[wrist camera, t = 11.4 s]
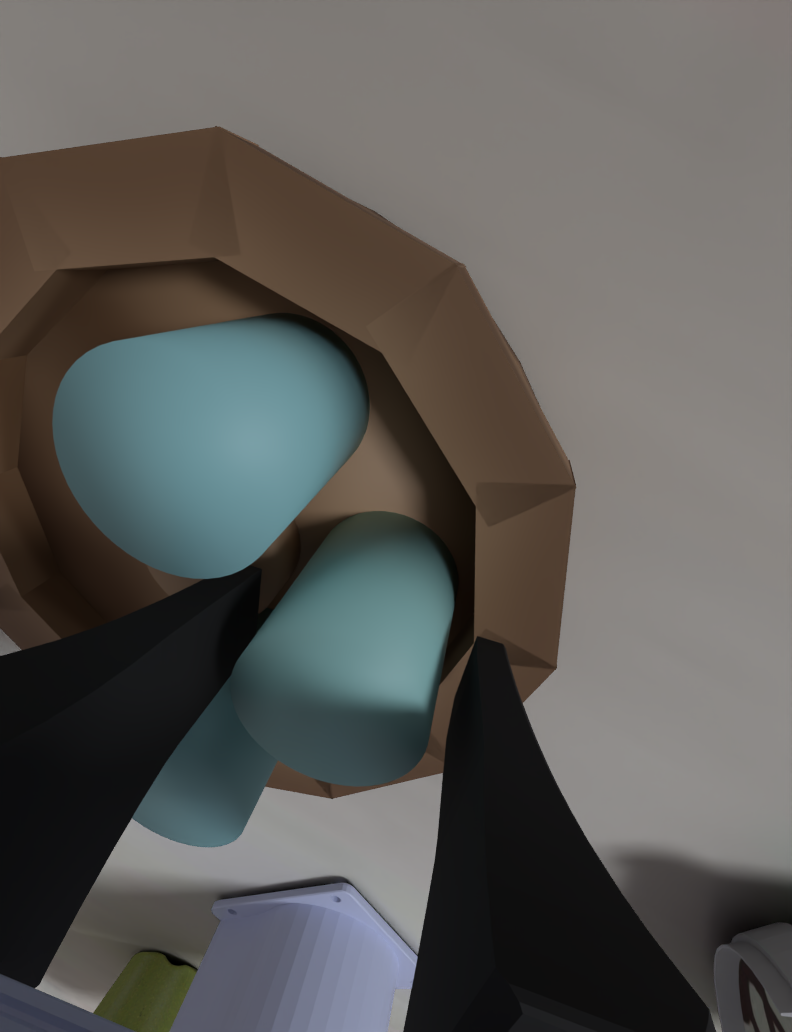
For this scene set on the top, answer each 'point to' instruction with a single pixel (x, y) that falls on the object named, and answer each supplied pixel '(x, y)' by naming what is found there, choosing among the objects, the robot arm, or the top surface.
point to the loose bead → (353, 654)
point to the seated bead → (209, 778)
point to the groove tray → (253, 292)
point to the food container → (755, 980)
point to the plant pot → (147, 993)
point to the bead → (208, 436)
